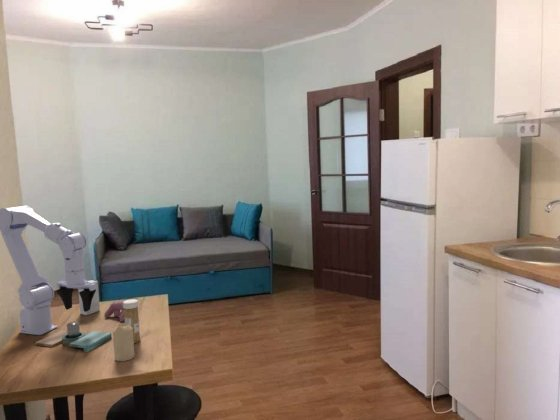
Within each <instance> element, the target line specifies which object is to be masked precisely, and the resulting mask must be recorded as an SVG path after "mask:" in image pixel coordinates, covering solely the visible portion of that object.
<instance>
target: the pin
mask: <svg viewBox="0 0 560 420" xmlns="http://www.w3.org/2000/svg"><path fill="white" fill-rule="evenodd" d="M66 328H67V330H66V331H67V332H68V339H71V338H77V337H79V336H80V332H81V330H80V322H79V321H72V322H71V321H70V322H68V323H66Z"/></svg>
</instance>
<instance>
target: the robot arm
mask: <svg viewBox="0 0 560 420" xmlns="http://www.w3.org/2000/svg"><path fill="white" fill-rule="evenodd" d="M28 226H30V227H32V228H34V229H37V230H39V231H41V232H43V233H44V237H45V239H46V238H47V240H49V241H51V242H53V243H55V244H56V245H58V247H59V249H60V251H61V252H62V257H63V258H64V270H65V280H59V281H56V288H57V290H56V294H58V295H59V297H60V298H61V301H62V302H63V305H64V308H65V310H66V311H68V310H70V309H72V308H73V291H74V290H75V289H77V290H78V289H84V291H81V292H79V291H78V295H79V294H80V296H81V298H82V302H83V309H84V312H86V311H88V310H90V307H91V302H92V299H93V296H94V294H95V292H96V284H95V283H90V282H87V281H88V280H87V279H86V276H85V274H86V273H85V263H84V262H85V261H84V248H86V246H87V240H86V238H87V237H85V235H84V234H83V233H82V232H80V231H79V232H73V231H72V229H68V228H66V227H64V226H62V223H61V222H51V223H50V222H49V221H48V220H47V219H44V218H43V217H41V215H39V214H37V213H36V212H35V210H34V208H32V207H30V206H29V205H24V204H23V205H21V206H20V205H18V206H12V207H1V208H0V233H1V236H2V239H3V241H4V244H5V246H6V248H7V251H8V253H9V255H10V257H11V259H12V262H13V264H14V266H15V269H16V270H17V273H18V275H19V277H20V280H21V284H20V285H19V288H17V292H18V294H19V302H20V303H21V305H22V307H21V309H20V311H19V320H20V330H19V331H18V332H19V334H28V335H35V336H42V335H44V334H46V333H48V332H50V331H52V330H55V329H57V328H58V325H54V324H52V314H51V312H52V311H51V303H52V300H53V299H54V297H55V290H54V286H52V285H51V284H50V283H49V281H48V279H47V278H45V277H43V276H40V275H39V272H38V271H37V268H36V265H35V264H34V261H33V258H32V257H31V254H30V252H29V250H28V247H27V245H26V242H25V240H24V238H23V237H22V234H23V233H24V231H25V230H26V229H27V227H28Z"/></svg>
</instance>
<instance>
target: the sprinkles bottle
mask: <svg viewBox="0 0 560 420" xmlns="http://www.w3.org/2000/svg"><path fill="white" fill-rule="evenodd" d="M122 302H123V308H124V316H125V317H124V319H125V320H124V323H125V324H128V325H129V326H131V327H132V328H133V342H134V344H137V343H139V342H140V341H141V335H140V334H141V333H140V319H139V318H140V317H139V300H138V299H134V298H133V299H126V300H124V301H122Z"/></svg>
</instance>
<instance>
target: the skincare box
mask: <svg viewBox="0 0 560 420" xmlns="http://www.w3.org/2000/svg"><path fill="white" fill-rule="evenodd" d="M86 281H87V282H90V283H95V284H96V292H95V294H94V296H93V299H92V302H91V307H90V310H88V311H86V312H84V309H83V302H82V298H81V296H80V294H79V292H81V291H84V289H77V290H78V299H79V300H78V301H79V312H80V313H79V314H80V315H83V316H89V315H91V314H94V313H98V312H99V311H100V310H101V308H100V296H99V284H98V283H99V281H98V280H93V279H91V280H86Z"/></svg>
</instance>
